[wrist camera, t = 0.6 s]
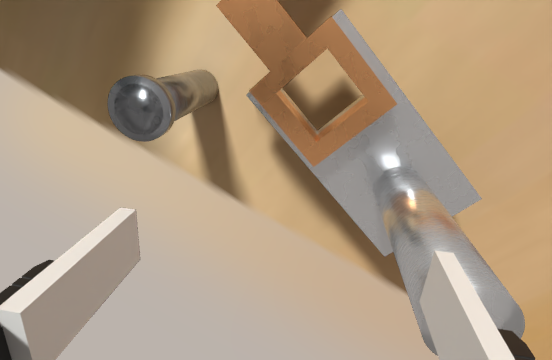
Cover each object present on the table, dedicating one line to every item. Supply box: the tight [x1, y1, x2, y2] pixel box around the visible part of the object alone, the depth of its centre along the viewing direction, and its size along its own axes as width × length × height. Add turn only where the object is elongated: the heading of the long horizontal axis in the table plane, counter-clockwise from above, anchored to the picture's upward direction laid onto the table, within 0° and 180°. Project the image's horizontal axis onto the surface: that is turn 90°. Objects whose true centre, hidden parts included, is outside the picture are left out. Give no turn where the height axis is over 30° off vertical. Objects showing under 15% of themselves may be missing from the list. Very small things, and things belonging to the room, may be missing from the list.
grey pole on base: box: [216, 0, 525, 356], centre depth 26 cm, size 26×10×24 cm, turn 41°
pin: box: [108, 70, 218, 142], centre depth 31 cm, size 5×5×14 cm
